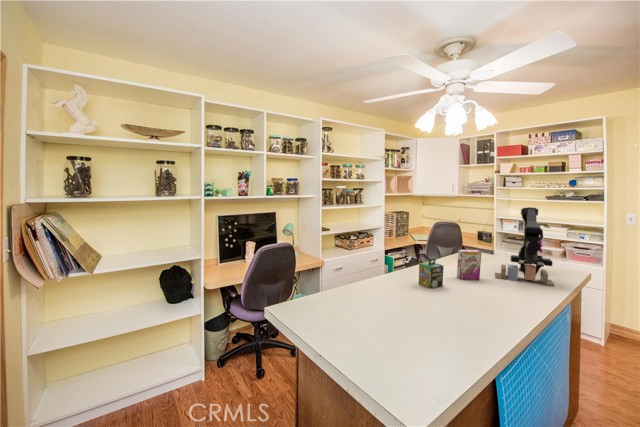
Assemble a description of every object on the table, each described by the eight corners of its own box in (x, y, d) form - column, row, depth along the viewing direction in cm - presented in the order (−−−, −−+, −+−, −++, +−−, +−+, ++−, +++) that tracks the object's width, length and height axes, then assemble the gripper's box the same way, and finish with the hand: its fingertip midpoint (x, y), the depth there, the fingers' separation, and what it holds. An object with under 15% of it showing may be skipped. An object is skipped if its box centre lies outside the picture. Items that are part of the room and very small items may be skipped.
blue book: (507, 275, 172) (508, 264, 172) (516, 276, 170) (517, 265, 169) (507, 279, 165) (508, 267, 165) (517, 280, 163) (518, 268, 162)
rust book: (523, 275, 168) (524, 263, 167) (533, 276, 166) (534, 264, 165) (525, 279, 161) (526, 267, 160) (535, 280, 159) (536, 268, 158)
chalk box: (430, 281, 164) (431, 255, 162) (443, 286, 155) (444, 259, 154) (417, 283, 160) (418, 257, 158) (430, 288, 151) (431, 261, 150)
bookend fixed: (495, 273, 176) (495, 263, 176) (504, 274, 174) (505, 265, 173) (495, 278, 168) (495, 268, 167) (505, 279, 165) (506, 269, 165)
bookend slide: (540, 279, 165) (540, 269, 164) (551, 280, 163) (551, 270, 162) (542, 284, 157) (543, 274, 156) (554, 286, 154) (555, 275, 153)
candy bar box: (459, 279, 166) (461, 251, 164) (456, 276, 171) (457, 249, 169) (480, 280, 165) (481, 251, 163) (476, 277, 170) (477, 249, 168)
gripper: (512, 249, 160) (510, 276, 161) (555, 253, 150) (553, 282, 152) (511, 245, 169) (509, 271, 171) (551, 248, 160) (549, 276, 161)
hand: (529, 275), depth 163 cm, fingers closed on rust book, 4 cm apart
